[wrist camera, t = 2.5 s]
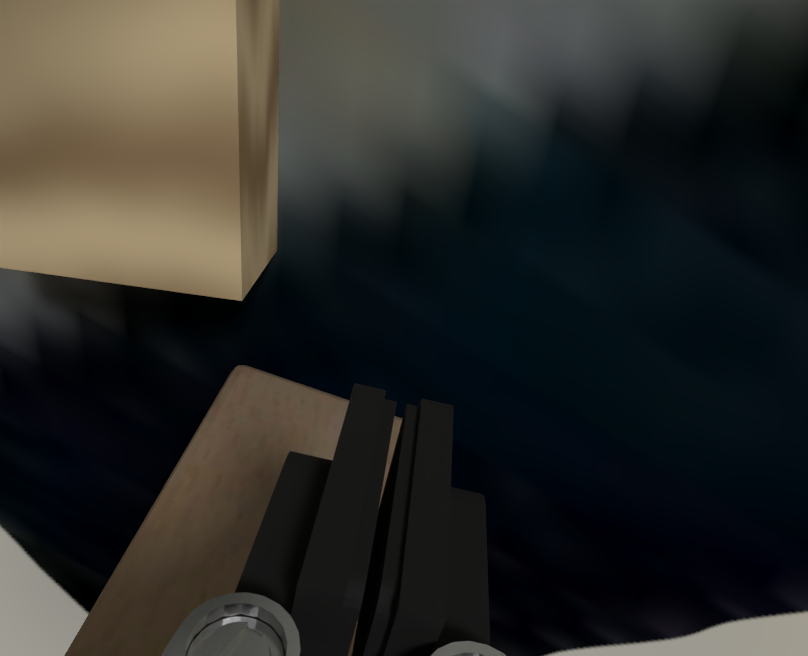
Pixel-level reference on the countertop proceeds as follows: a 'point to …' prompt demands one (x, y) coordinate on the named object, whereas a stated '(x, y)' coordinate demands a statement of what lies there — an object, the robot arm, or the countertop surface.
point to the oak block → (140, 141)
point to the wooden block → (211, 511)
